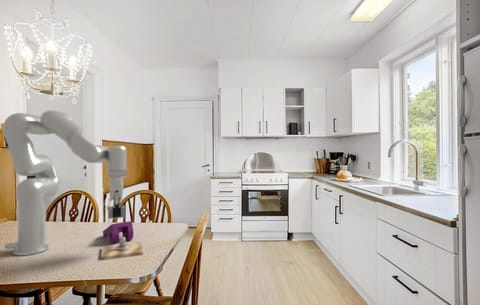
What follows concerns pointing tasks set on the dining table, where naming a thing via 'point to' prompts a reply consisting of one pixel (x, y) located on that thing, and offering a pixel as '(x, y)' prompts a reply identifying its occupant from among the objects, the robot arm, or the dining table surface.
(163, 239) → the dining table surface
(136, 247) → the hub board
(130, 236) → the mounting bracket
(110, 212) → the collar
